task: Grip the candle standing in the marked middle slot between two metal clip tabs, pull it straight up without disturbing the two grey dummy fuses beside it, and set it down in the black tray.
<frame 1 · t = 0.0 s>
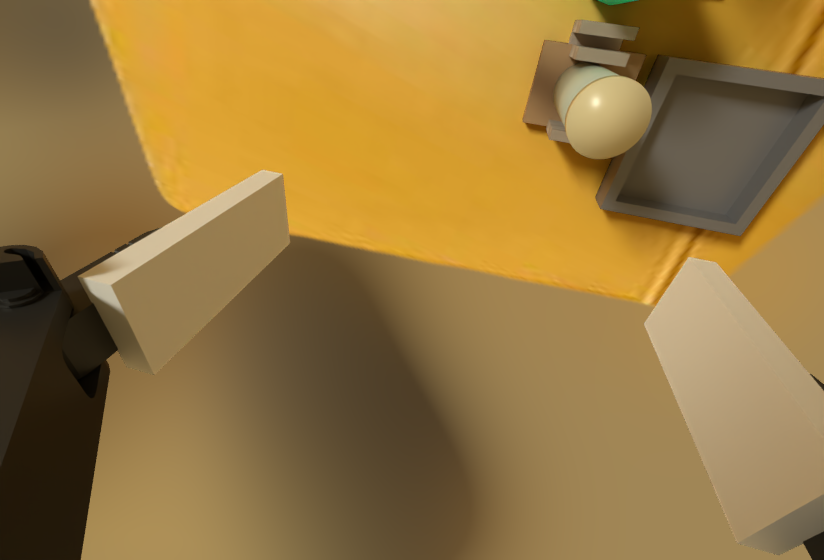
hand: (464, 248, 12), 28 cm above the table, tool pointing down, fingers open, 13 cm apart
fuse b: (579, 91, 31), point 1 cm above the table, touching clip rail
tray: (695, 146, 33), on the table
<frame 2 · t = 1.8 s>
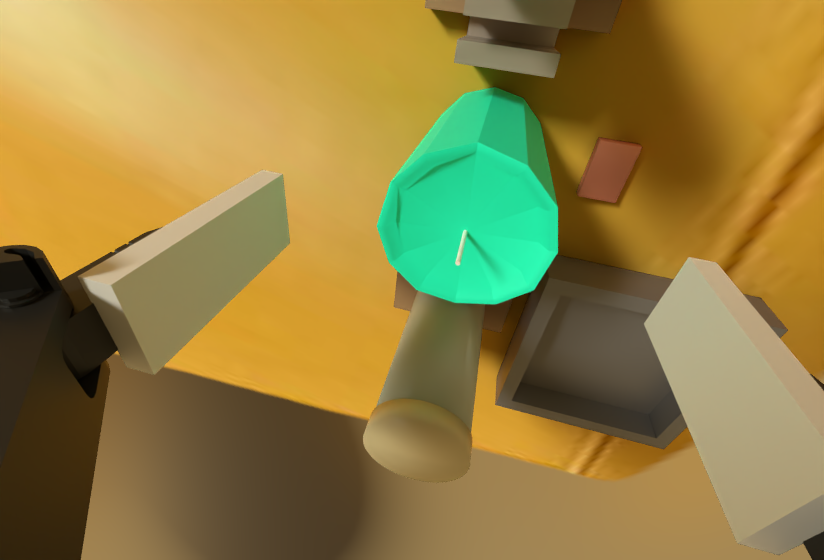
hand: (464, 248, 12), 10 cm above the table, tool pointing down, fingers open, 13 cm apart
fuse b: (454, 285, 25), point 1 cm above the table, touching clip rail
candle: (485, 146, 20), on the table
tray: (605, 344, 26), on the table
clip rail: (485, 147, 20), on the table
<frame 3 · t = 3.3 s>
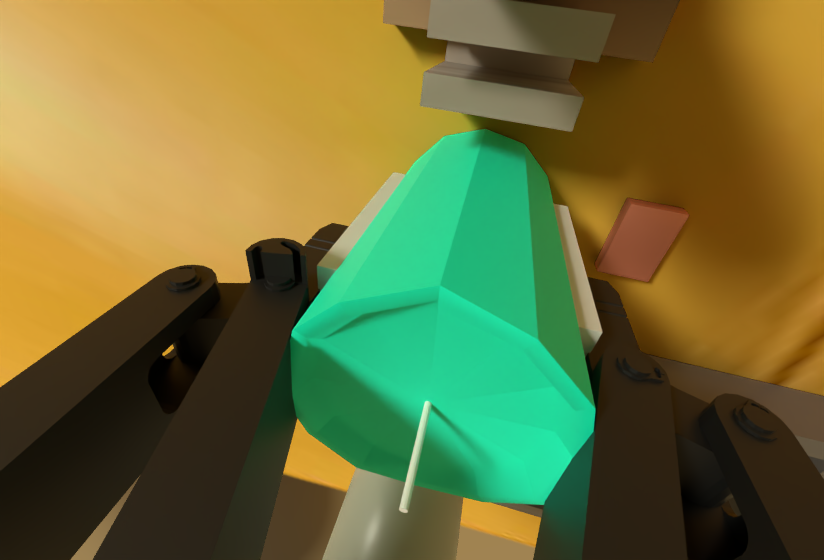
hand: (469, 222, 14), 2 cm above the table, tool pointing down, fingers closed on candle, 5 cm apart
fuse b: (436, 367, 20), point 1 cm above the table, touching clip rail
candle: (474, 202, 15), on the table, touching gripper
tray: (626, 436, 21), on the table
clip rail: (474, 205, 15), on the table
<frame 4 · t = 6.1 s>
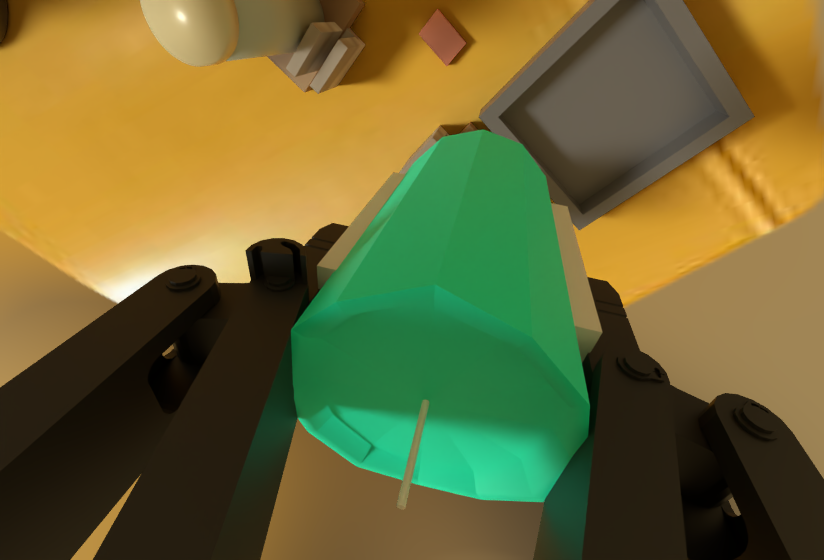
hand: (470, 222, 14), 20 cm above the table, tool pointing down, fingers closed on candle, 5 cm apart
candle: (473, 202, 15), point 18 cm above the table, touching gripper
tray: (599, 108, 28), on the table
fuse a: (296, 17, 27), point 1 cm above the table, touching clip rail
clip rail: (389, 105, 31), on the table
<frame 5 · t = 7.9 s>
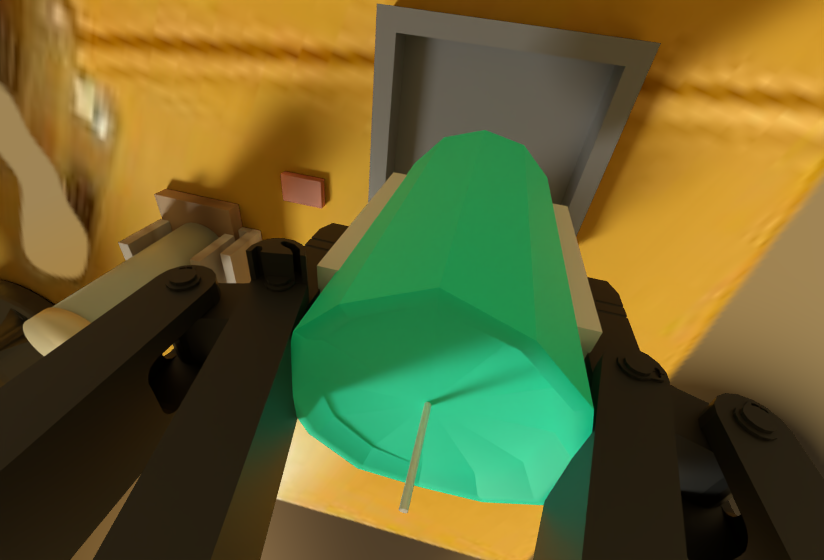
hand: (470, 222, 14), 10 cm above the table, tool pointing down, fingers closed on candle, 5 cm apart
candle: (474, 203, 15), point 8 cm above the table, touching gripper
tray: (484, 148, 22), on the table
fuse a: (202, 246, 30), point 1 cm above the table, touching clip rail
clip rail: (310, 262, 30), on the table
when the fingers open (4 cm above the table, at t = 9.2 s): candle stays where it is, resting on tray.
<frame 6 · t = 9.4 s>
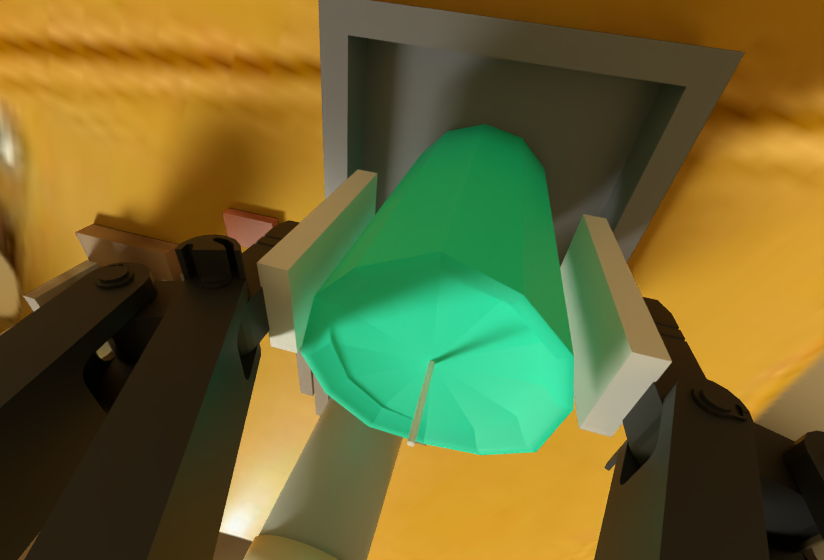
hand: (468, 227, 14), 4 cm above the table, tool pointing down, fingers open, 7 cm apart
fuse b: (389, 357, 23), point 1 cm above the table, touching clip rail
candle: (476, 193, 16), point 1 cm above the table, touching tray
tray: (478, 187, 17), on the table
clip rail: (269, 312, 25), on the table
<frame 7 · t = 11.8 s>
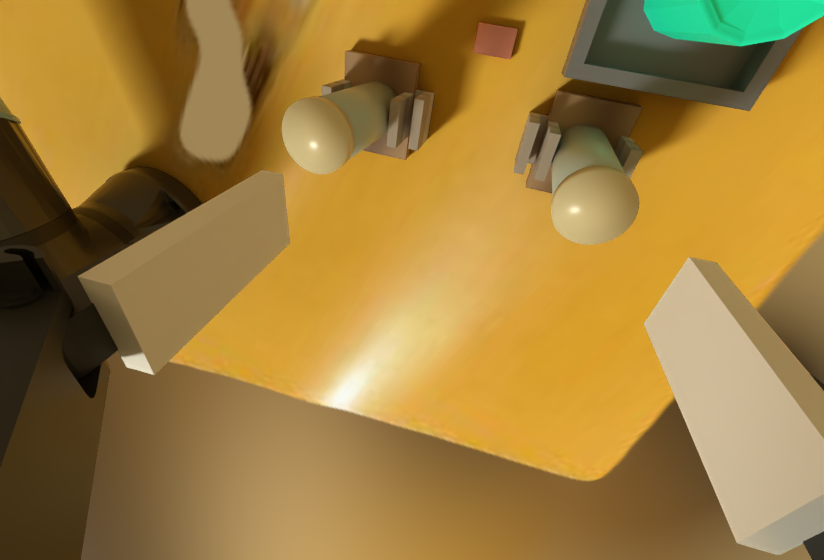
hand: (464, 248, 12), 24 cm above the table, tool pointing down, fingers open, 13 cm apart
fuse b: (578, 151, 31), point 1 cm above the table, touching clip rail
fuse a: (376, 108, 33), point 1 cm above the table, touching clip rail
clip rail: (475, 126, 33), on the table
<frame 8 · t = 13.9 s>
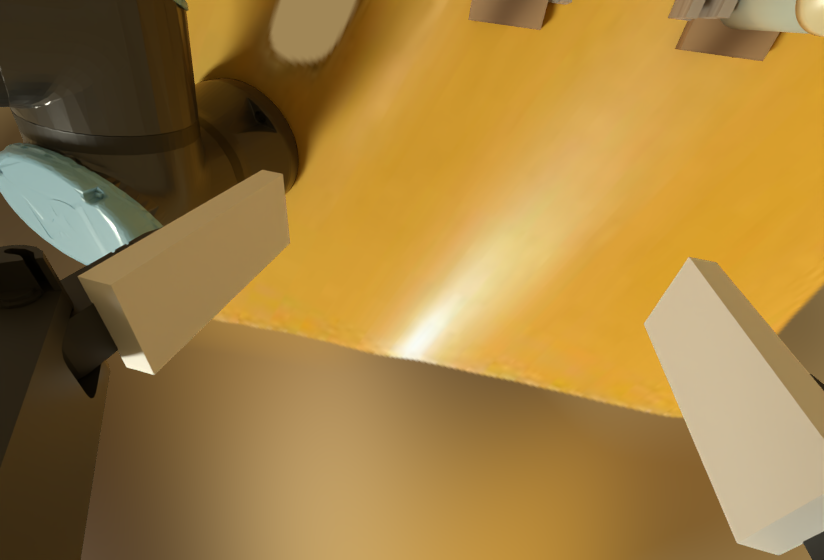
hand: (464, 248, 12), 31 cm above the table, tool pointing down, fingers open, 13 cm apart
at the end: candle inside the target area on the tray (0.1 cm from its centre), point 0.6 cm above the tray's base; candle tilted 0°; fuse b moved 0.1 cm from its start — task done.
